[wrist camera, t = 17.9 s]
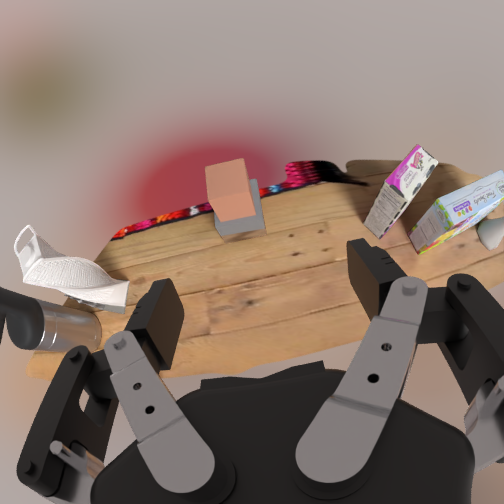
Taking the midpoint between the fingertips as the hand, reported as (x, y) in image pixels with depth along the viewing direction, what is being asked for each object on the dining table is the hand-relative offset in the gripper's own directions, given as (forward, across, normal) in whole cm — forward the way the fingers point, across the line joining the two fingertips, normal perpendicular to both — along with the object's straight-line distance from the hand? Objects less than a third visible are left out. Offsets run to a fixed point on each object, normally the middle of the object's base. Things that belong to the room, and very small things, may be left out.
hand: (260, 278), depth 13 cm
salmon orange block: (+36, +4, +6) cm, 37 cm away
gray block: (+39, +4, +9) cm, 41 cm away
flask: (+33, -50, +23) cm, 64 cm away
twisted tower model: (+35, +33, +18) cm, 52 cm away
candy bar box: (+39, -24, +16) cm, 49 cm away
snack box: (+36, -38, +20) cm, 56 cm away
